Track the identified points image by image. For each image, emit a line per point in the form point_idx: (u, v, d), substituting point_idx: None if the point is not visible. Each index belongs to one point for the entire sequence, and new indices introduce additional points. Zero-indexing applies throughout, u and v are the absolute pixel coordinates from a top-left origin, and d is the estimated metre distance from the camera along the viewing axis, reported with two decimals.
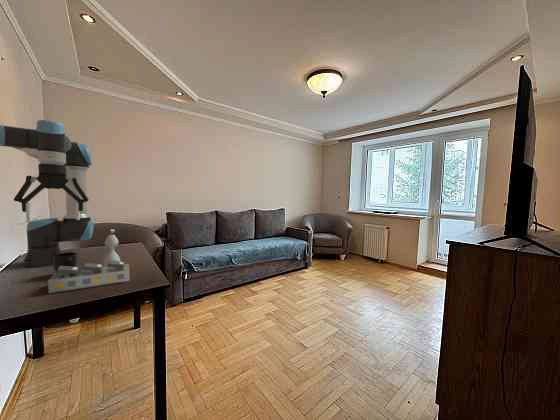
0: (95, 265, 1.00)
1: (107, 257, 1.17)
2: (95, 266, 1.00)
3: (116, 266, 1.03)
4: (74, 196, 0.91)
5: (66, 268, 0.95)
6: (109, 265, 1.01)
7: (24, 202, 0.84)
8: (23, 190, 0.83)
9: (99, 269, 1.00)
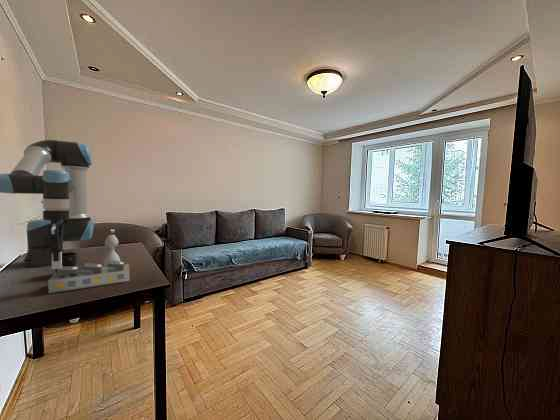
0: (95, 265, 1.00)
1: (107, 257, 1.17)
2: (95, 266, 1.00)
3: (116, 266, 1.03)
4: None
5: (66, 268, 0.95)
6: (109, 265, 1.01)
7: None
8: None
9: (99, 269, 1.00)
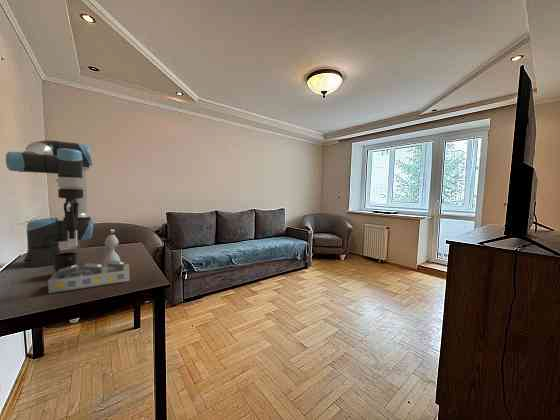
0: (95, 265, 1.00)
1: (107, 257, 1.17)
2: (95, 266, 1.00)
3: (116, 266, 1.03)
4: None
5: (65, 269, 0.95)
6: (109, 265, 1.01)
7: None
8: None
9: (99, 269, 1.00)
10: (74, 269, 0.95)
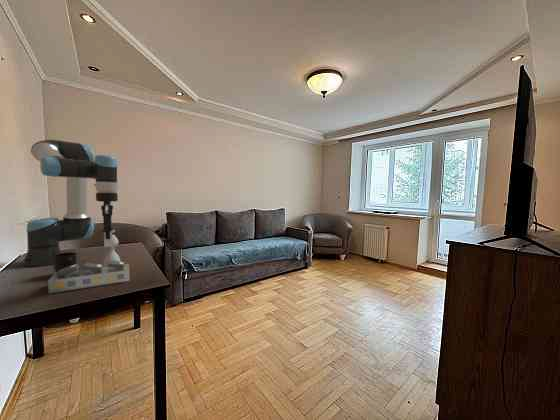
0: (95, 265, 1.00)
1: (107, 257, 1.17)
2: (95, 266, 1.00)
3: (116, 266, 1.03)
4: None
5: (65, 269, 0.95)
6: (109, 265, 1.01)
7: None
8: None
9: (99, 269, 1.00)
10: (74, 269, 0.95)
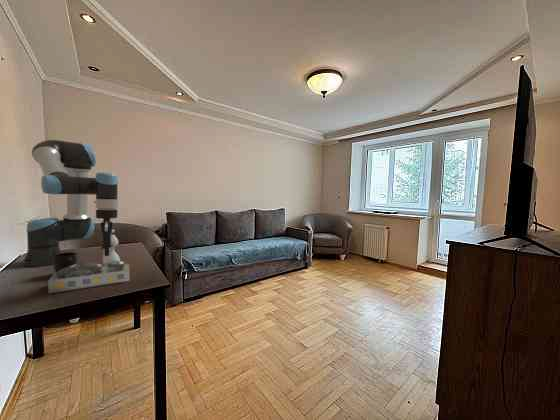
0: (95, 265, 1.00)
1: None
2: (95, 266, 1.00)
3: (116, 266, 1.03)
4: None
5: (65, 269, 0.95)
6: (109, 265, 1.01)
7: None
8: None
9: (99, 269, 1.00)
10: (74, 268, 0.95)
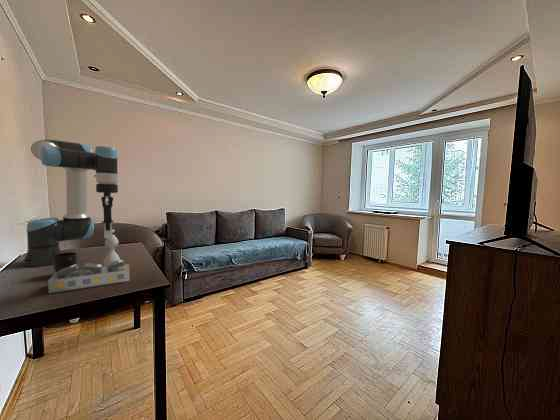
0: (95, 265, 1.00)
1: (107, 257, 1.17)
2: (95, 266, 1.00)
3: (116, 266, 1.03)
4: None
5: (65, 269, 0.95)
6: (109, 267, 1.01)
7: None
8: None
9: (99, 269, 1.00)
10: (74, 268, 0.95)
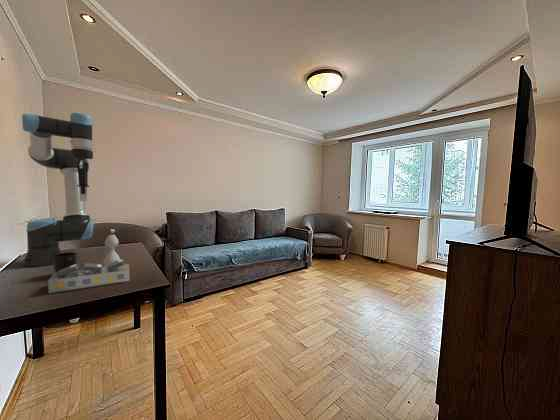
0: (95, 265, 1.00)
1: (107, 257, 1.17)
2: (95, 266, 1.00)
3: (116, 266, 1.03)
4: None
5: (65, 269, 0.95)
6: (109, 268, 1.01)
7: None
8: None
9: (99, 269, 1.00)
10: (74, 268, 0.95)
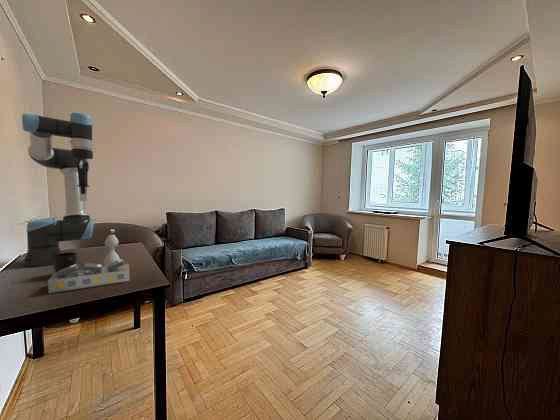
0: (95, 265, 1.00)
1: (107, 257, 1.17)
2: (95, 266, 1.00)
3: (116, 266, 1.03)
4: None
5: (65, 269, 0.95)
6: (109, 268, 1.01)
7: None
8: None
9: (99, 269, 1.00)
10: (74, 268, 0.95)
